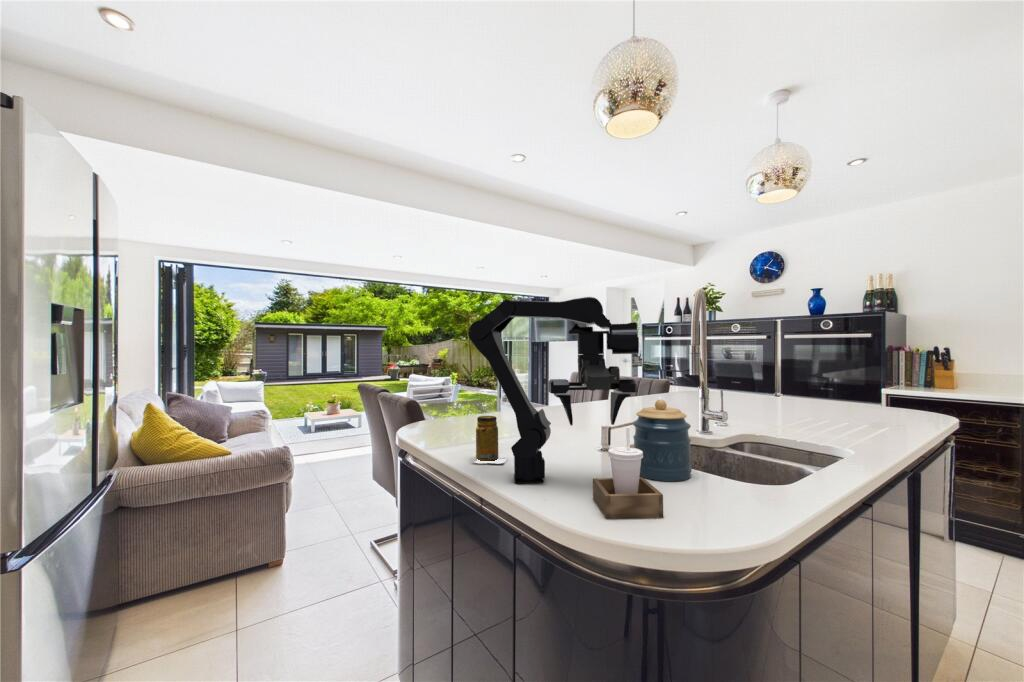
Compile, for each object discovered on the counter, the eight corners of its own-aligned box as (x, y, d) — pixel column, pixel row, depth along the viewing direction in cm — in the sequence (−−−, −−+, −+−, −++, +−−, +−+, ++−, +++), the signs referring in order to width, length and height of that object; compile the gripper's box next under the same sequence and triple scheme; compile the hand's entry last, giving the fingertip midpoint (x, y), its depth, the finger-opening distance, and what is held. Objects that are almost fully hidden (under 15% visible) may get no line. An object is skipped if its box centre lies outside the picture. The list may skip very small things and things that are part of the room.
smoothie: (640, 511, 73) (638, 432, 73) (604, 505, 76) (603, 429, 76) (647, 499, 79) (645, 426, 79) (613, 494, 82) (612, 423, 82)
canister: (694, 484, 90) (693, 403, 90) (633, 479, 94) (631, 402, 94) (688, 468, 102) (687, 397, 103) (634, 464, 106) (633, 396, 107)
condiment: (478, 457, 115) (478, 414, 116) (508, 458, 114) (507, 415, 114) (471, 464, 108) (471, 418, 109) (502, 465, 107) (502, 419, 107)
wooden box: (606, 519, 72) (605, 496, 72) (593, 498, 82) (592, 478, 82) (663, 517, 72) (663, 494, 72) (643, 497, 82) (642, 477, 82)
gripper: (553, 355, 83) (555, 432, 83) (645, 354, 84) (646, 431, 83) (547, 354, 94) (548, 423, 94) (627, 354, 95) (629, 421, 95)
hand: (591, 424), depth 91 cm, fingers open, 9 cm apart
